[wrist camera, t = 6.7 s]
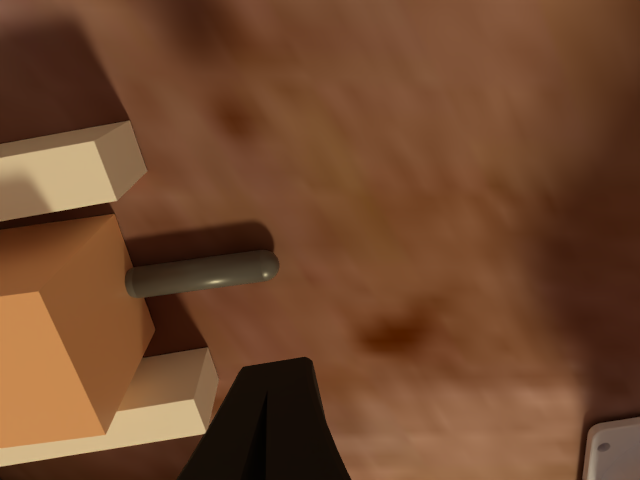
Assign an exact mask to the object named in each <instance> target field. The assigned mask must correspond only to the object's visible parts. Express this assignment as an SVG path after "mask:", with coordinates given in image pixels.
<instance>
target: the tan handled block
mask: <svg viewBox="0 0 640 480" xmlns="http://www.w3.org/2000/svg"><path fill="white" fill-rule="evenodd" d="M278 270H279V261H278V258H277V257H276V255H275V254H274V253H273V252H271V251H268V250H256V251H248V252H241V253H234V254H226V255H219V256H212V257H204V258H197V259H190V260H182V261H175V262H168V263H160V264H153V265H146V266H138V267H133V265H132V262H131V259H130V256H129V253H128V251H127V248H126V245H125V242H124V239H123V236H122V233H121V231H120V228H119V225H118V222H117V219H116V216H115V214H109V215H102V216H95V217H88V218H81V219H73V220H66V221H59V222H52V223H44V224H37V225H30V226H23V227H16V228H8V229H1V230H0V448H8V447H16V446H23V445H31V444H39V443H47V442H55V441H62V440H70V439H78V438H86V437H94V436H101V435H106V433H107V431H108V429H109V427H110V425H111V423H112V421H113V418H114V416H115V414H116V412H117V410H118V408H119V406H120V404H121V402H122V399H123V397H124V395H125V393H126V391H127V389H128V387H129V385H130V383H131V380H132V378H133V376H134V374H135V372H136V370H137V368H138V366H139V364H140V361H141V359H142V357H143V355H144V353H145V351H146V349H147V347H148V345H149V342H150V340H151V338H152V336H153V334H154V332H155V327H154V324H153V321H152V319H151V316H150V313H149V310H148V307H147V304H146V302H145V299H144V297H151V296H159V295H166V294H174V293H181V292H189V291H196V290H204V289H211V288H218V287H226V286H233V285H241V284H248V283H256V282H263V281H268V280H270V279H272V278H274V277H275V276H276V274H277V273H278Z"/></svg>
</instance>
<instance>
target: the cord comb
mask: <svg viewBox="0 0 640 480" xmlns="http://www.w3.org/2000/svg"><path fill="white" fill-rule="evenodd" d="M146 172H147V169H146V166H145V163H144V160H143V157H142V155H141V152H140V149H139V146H138V143H137V140H136V137H135V134H134V131H133V128H132V125H131V123H130V120H129V121H124V122H118V123H113V124H107V125H102V126H96V127H91V128H85V129H80V130H74V131H69V132H63V133H58V134H52V135H47V136H41V137H36V138H30V139H25V140H20V141H14V142H9V143H3V144H0V221H6V220H11V219H17V218H23V217H28V216H34V215H40V214H45V213H51V212H57V211H62V210H68V209H73V208H79V207H85V206H90V205H96V204H102V203H107V202H113V201H117V200H118V199H119V198H120V197H121V196H122V195H123V194H124V193H126V192H127V191H128V190H129V189H130V188H131V187H132V186H133V185H134V184H135V183H136V182H137V181H138V180H139V179H140V178H141V177H142V176H143V175H144V174H145V173H146ZM218 381H219V378H218V375H217V372H216V369H215V366H214V363H213V360H212V358H211V355H210V352H209V349H208V347H206V348H200V349H194V350H188V351H182V352H176V353H170V354H164V355H158V356H152V357H146V358H142V359H141V361H140V364H139V366H138V368H137V370H136V372H135V374H134V376H133V378H132V380H131V383H130V385H129V387H128V389H127V391H126V393H125V395H124V397H123V399H122V402H121V404H120V406H119V408H118V410H117V412H116V414H115V416H114V418H113V421H112V423H111V425H110V427H109V429H108V431H107V433H106V435H101V436H94V437H86V438H78V439H70V440H62V441H55V442H47V443H39V444H31V445H23V446H16V447H8V448H0V467H1V466H8V465H14V464H20V463H26V462H32V461H39V460H45V459H51V458H57V457H64V456H70V455H76V454H82V453H89V452H95V451H101V450H107V449H114V448H120V447H126V446H132V445H139V444H145V443H151V442H157V441H163V440H170V439H176V438H182V437H188V436H195V435H201V434H205V432H206V431H207V429H208V426H209V422H210V417H211V413H212V408H213V403H214V399H215V394H216V390H217V385H218ZM0 480H1V479H0Z"/></svg>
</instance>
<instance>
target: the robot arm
mask: <svg viewBox="0 0 640 480" xmlns="http://www.w3.org/2000/svg"><path fill="white" fill-rule="evenodd" d="M176 480H351V478H350V476H349V474H348V472H347V470H346V468H345V466H344V463H343V461H342V459H341V457H340V455H339V452H338V450H337V448H336V445H335V443H334V440H333V438H332V435H331V433H330V430H329V428H328V426H327V423H326V419H325V415H324V410H323V406H322V401H321V397H320V393H319V388H318V384H317V379H316V375H315V370H314V366H313V362H312V360H310V359H309V358H307V357H301V358H295V359H288V360H282V361H276V362H270V363H264V364H258V365H251V366H245V367H243V368H242V369H241V370H240V372H239V373H238V375H237V377H236V379H235V381H234V383H233V384H232V386H231V388H230V390H229V392H228V394H227V395H226V397H225V399H224V401H223V403H222V405H221V406H220V408H219V410H218V412H217V413H216V415H215V417H214V419H213V420H212V422H211V424H210V426H209V427H208V429H207V431H206V432H205V434H204V436H203V437H202V439H201V441H200V442H199V444H198V446H197V447H196V449H195V451H194V452H193V454H192V455H191V457H190V459H189V460H188V462H187V464H186V465H185V467H184V468H183V470H182V472H181V473H180V475H179V476H178V478H177V479H176ZM582 480H640V417H636V418H629V419H623V420H617V421H610V422H604V423H599V424H596V425H594V426H592V427H591V428H590V429H589V432H588V436H587V444H586V453H585V461H584V469H583V477H582Z"/></svg>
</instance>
